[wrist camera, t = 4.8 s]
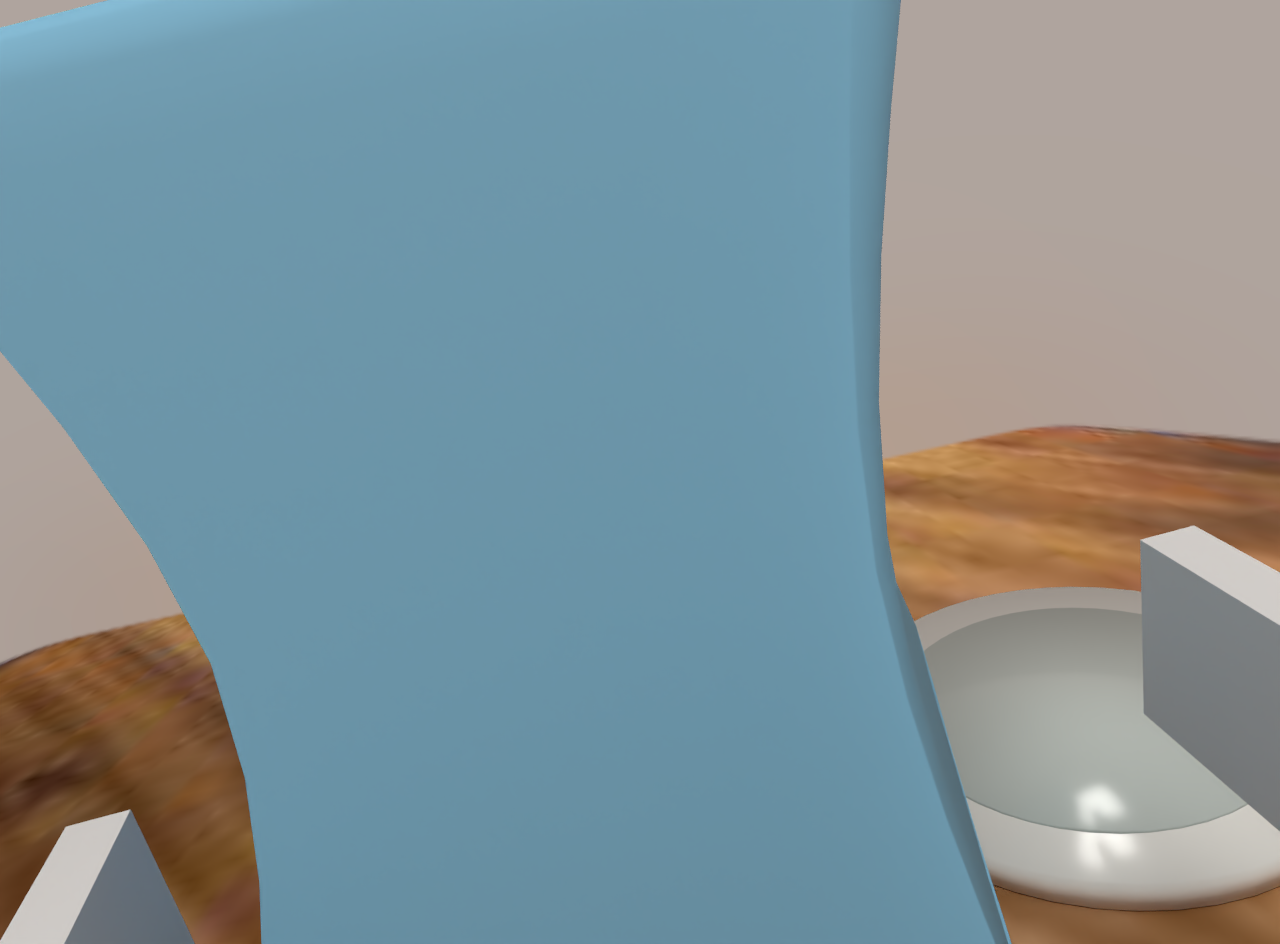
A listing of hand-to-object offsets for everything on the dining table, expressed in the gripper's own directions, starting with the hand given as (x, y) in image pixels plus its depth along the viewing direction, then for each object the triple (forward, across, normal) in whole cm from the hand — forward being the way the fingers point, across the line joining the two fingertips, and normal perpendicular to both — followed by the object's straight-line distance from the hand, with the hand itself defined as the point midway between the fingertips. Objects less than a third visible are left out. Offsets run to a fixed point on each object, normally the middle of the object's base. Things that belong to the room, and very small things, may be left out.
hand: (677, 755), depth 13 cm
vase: (0, 0, -11) cm, 11 cm away
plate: (+11, +12, -11) cm, 19 cm away
